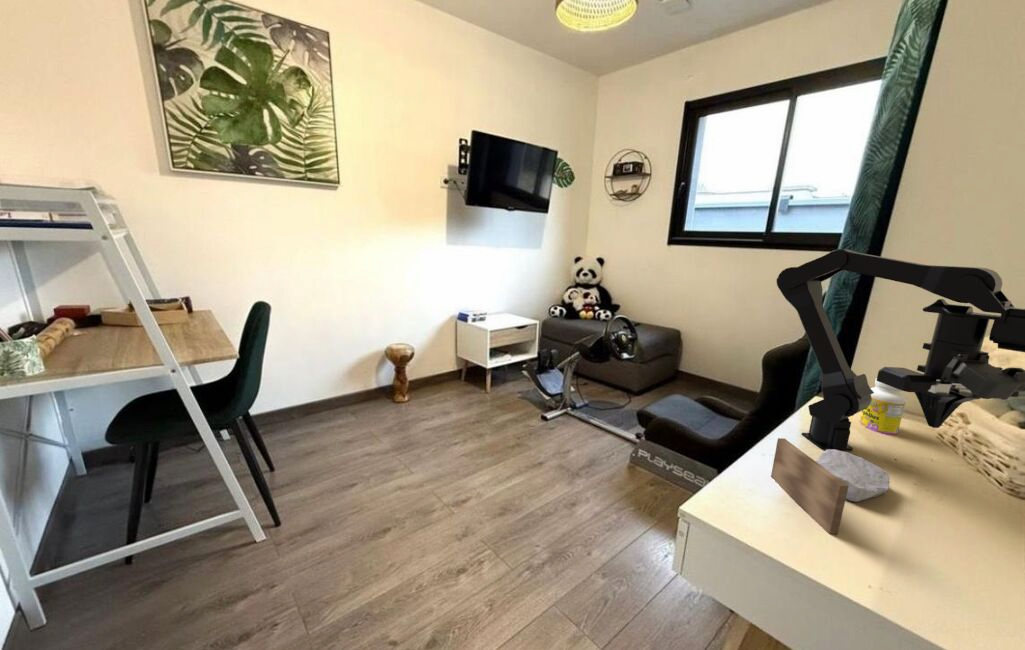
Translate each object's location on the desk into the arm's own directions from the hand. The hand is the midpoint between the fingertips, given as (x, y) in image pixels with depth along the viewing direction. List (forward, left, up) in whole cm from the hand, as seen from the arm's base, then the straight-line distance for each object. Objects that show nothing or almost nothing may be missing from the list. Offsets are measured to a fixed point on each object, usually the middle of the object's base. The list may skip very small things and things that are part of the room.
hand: (933, 426), depth 70 cm
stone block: (+6, -12, -10) cm, 17 cm away
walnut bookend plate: (+8, -27, -11) cm, 30 cm away
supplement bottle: (-20, +10, -11) cm, 25 cm away
